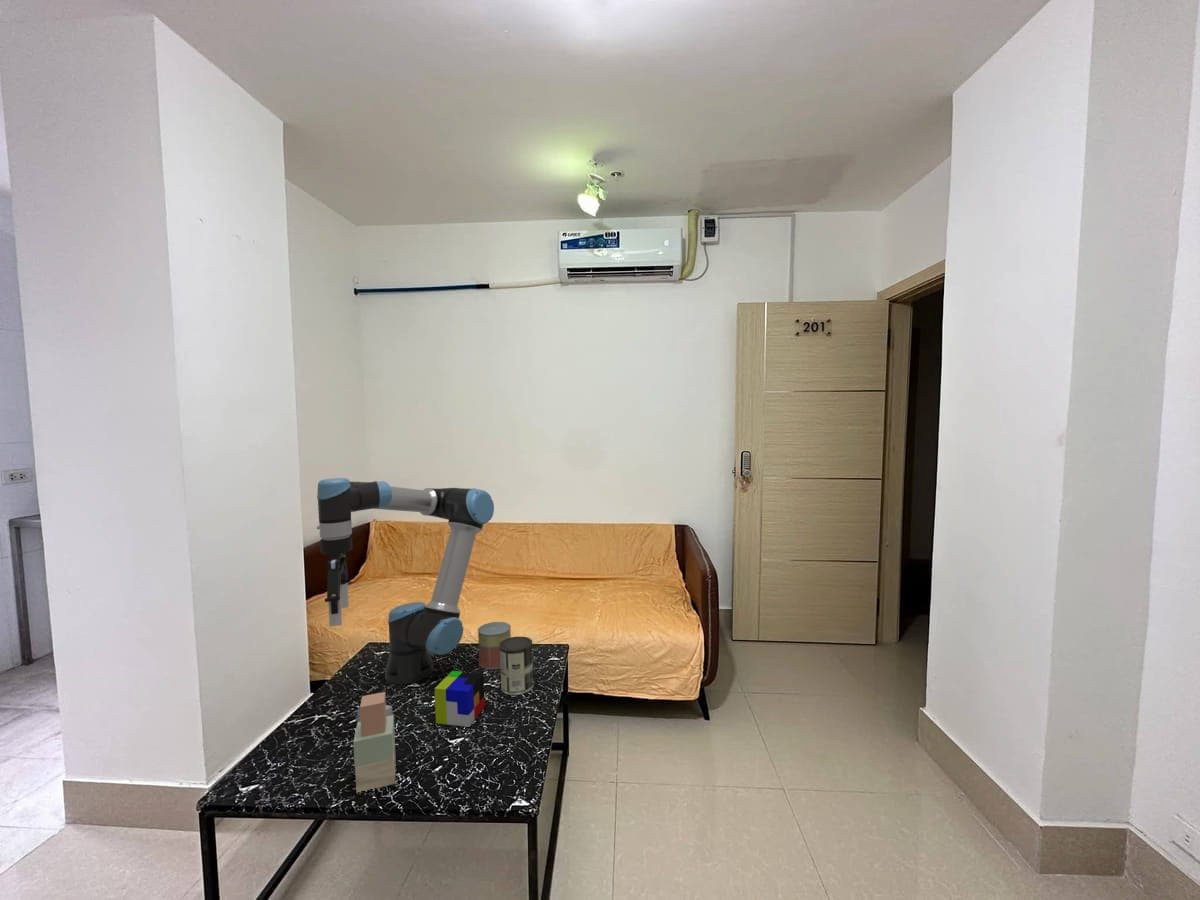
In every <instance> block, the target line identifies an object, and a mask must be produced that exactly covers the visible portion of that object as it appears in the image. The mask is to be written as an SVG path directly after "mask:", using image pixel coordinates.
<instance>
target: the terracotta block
mask: <svg viewBox="0 0 1200 900" xmlns="http://www.w3.org/2000/svg"><path fill="white" fill-rule="evenodd" d="M360 701H361V702H360V705H359V709H360V718H361V737H364V736H369V735H373V734H378V733H383V732H385V729H386V705H387V703H386V691H382V692H377V693H373V694H367V695H363V696H361V700H360Z"/></svg>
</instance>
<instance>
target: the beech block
mask: <svg viewBox="0 0 1200 900" xmlns="http://www.w3.org/2000/svg"><path fill="white" fill-rule="evenodd" d="M396 761H397V760H396V740H395V741H394V753H393V759H390V760H386V761H381V762H377V763H373V764H369V765H364V766H360V767H356V768H355V767H354V769H355V788H356V789H355V790H356V793H357V794H359V793H358V792H361V791H365V792H367V791H366V790H369V791H371V790H370V789H372V790H376V789H379V788H380V789H381V788H383V787H387V786H391V785H395V784H396V782H395V781H396ZM375 788H376V789H375ZM361 793H362V792H361Z"/></svg>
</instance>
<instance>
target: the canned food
mask: <svg viewBox="0 0 1200 900" xmlns="http://www.w3.org/2000/svg"><path fill="white" fill-rule="evenodd" d="M511 628H512V627H511V624H509V622H505V621H492V622H488V623H485V624H482V625H480V626H479V627H478V628H477V633H478V635H477V636H478V638H477V639H478V664H479V667H480V666H481V667H480V668H482V669H484V668H486V670H498V668H499V669H501V665H500V648H499V644H500V643H501V642H502V641H503V640H505V639H507V638H511V637H512V636H511Z"/></svg>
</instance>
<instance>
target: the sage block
mask: <svg viewBox="0 0 1200 900" xmlns="http://www.w3.org/2000/svg"><path fill="white" fill-rule="evenodd" d="M395 735H396V734H395V715H394V714H393V715H391V716H386V729H385V732H383V733H378V734H373V735H369V736H364V737H361V722H358V721H357V724H356V727H355V734H354V737H353V758H354V761H353V762H354V763H353V764H354V769H355V768H356V767H360V766H364V765H369V764H373V763H377V762H381V761H386V760H390V759H393V753H394V741H395V742H396V740H395V739H396V737H395Z"/></svg>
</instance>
